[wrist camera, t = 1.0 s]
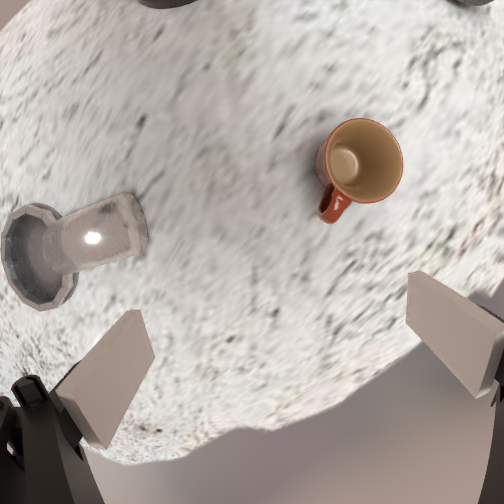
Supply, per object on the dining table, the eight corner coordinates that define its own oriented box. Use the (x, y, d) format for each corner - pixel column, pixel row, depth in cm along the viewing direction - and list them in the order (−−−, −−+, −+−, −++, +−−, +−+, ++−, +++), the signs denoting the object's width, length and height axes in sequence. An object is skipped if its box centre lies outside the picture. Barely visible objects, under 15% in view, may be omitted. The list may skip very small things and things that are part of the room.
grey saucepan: (29, 312, 42) (4, 328, 34) (1, 222, 38) (-28, 229, 30) (163, 279, 40) (144, 300, 32) (128, 157, 36) (101, 152, 28)
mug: (326, 122, 35) (349, 101, 25) (378, 157, 36) (415, 150, 26) (282, 198, 37) (291, 201, 27) (337, 231, 38) (364, 246, 28)
